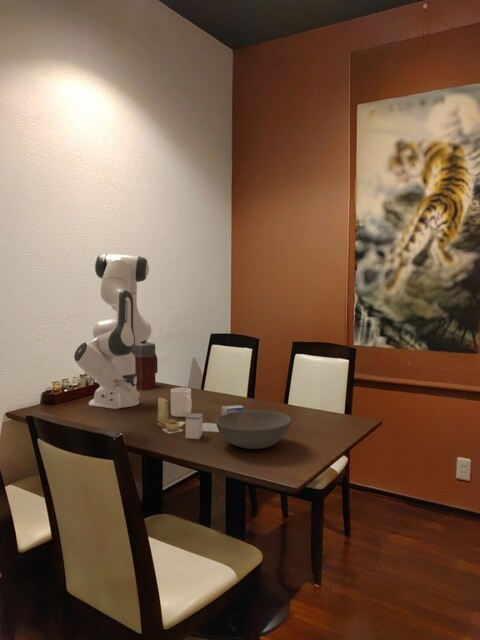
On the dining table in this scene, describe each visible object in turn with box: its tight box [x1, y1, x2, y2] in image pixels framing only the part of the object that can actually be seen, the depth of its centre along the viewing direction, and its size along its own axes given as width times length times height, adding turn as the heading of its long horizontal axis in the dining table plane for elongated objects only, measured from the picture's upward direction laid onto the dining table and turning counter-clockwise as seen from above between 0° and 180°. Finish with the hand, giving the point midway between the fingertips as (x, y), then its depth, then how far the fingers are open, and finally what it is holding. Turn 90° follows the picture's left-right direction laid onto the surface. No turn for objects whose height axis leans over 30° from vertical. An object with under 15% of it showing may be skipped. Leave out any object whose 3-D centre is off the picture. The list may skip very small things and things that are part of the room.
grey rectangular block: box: [184, 412, 204, 440], centre depth 191 cm, size 5×5×8 cm
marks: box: [156, 421, 186, 435], centre depth 202 cm, size 13×15×1 cm
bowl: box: [215, 409, 292, 450], centre depth 182 cm, size 26×26×10 cm
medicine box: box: [221, 404, 246, 416], centre depth 201 cm, size 8×4×9 cm, turn 118°
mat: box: [202, 422, 220, 434], centre depth 202 cm, size 10×10×1 cm
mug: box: [170, 387, 193, 418], centre depth 219 cm, size 9×12×11 cm
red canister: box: [131, 340, 159, 391], centre depth 269 cm, size 9×11×28 cm
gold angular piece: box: [157, 397, 180, 431], centre depth 202 cm, size 14×5×10 cm, turn 35°
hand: (136, 400), depth 196 cm, fingers closed
